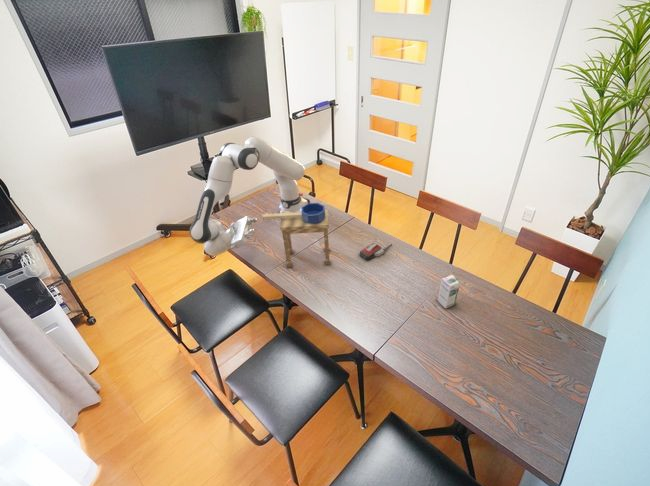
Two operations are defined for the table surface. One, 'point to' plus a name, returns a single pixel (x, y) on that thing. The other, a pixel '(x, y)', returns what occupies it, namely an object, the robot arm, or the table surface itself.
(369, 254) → the walkie-talkie
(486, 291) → the table surface
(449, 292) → the syrup box
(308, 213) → the blue saucepan
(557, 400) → the table surface
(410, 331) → the table surface
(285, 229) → the stand
